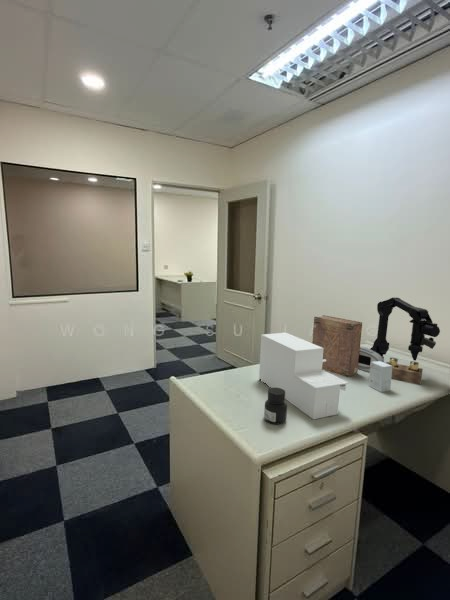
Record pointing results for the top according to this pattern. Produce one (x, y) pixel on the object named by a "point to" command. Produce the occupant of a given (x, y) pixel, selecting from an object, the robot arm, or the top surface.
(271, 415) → the ink bottle
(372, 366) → the small box
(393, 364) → the brass peg
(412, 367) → the brass peg
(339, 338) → the brown wooden case
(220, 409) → the top surface
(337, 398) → the building
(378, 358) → the alarm clock
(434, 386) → the top surface
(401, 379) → the walnut block
